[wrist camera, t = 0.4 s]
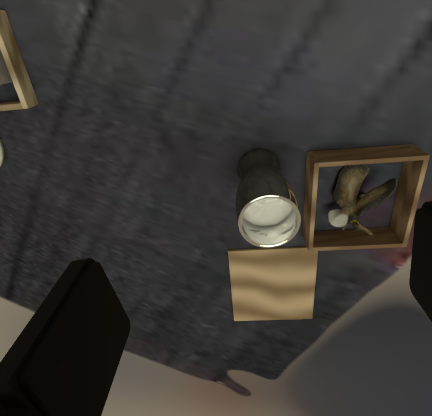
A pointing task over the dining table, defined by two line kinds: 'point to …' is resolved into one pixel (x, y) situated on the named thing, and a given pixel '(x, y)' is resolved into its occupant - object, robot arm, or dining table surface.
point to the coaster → (1, 153)
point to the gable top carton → (4, 71)
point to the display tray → (403, 204)
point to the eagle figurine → (356, 196)
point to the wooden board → (272, 283)
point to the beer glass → (265, 201)
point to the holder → (15, 68)
